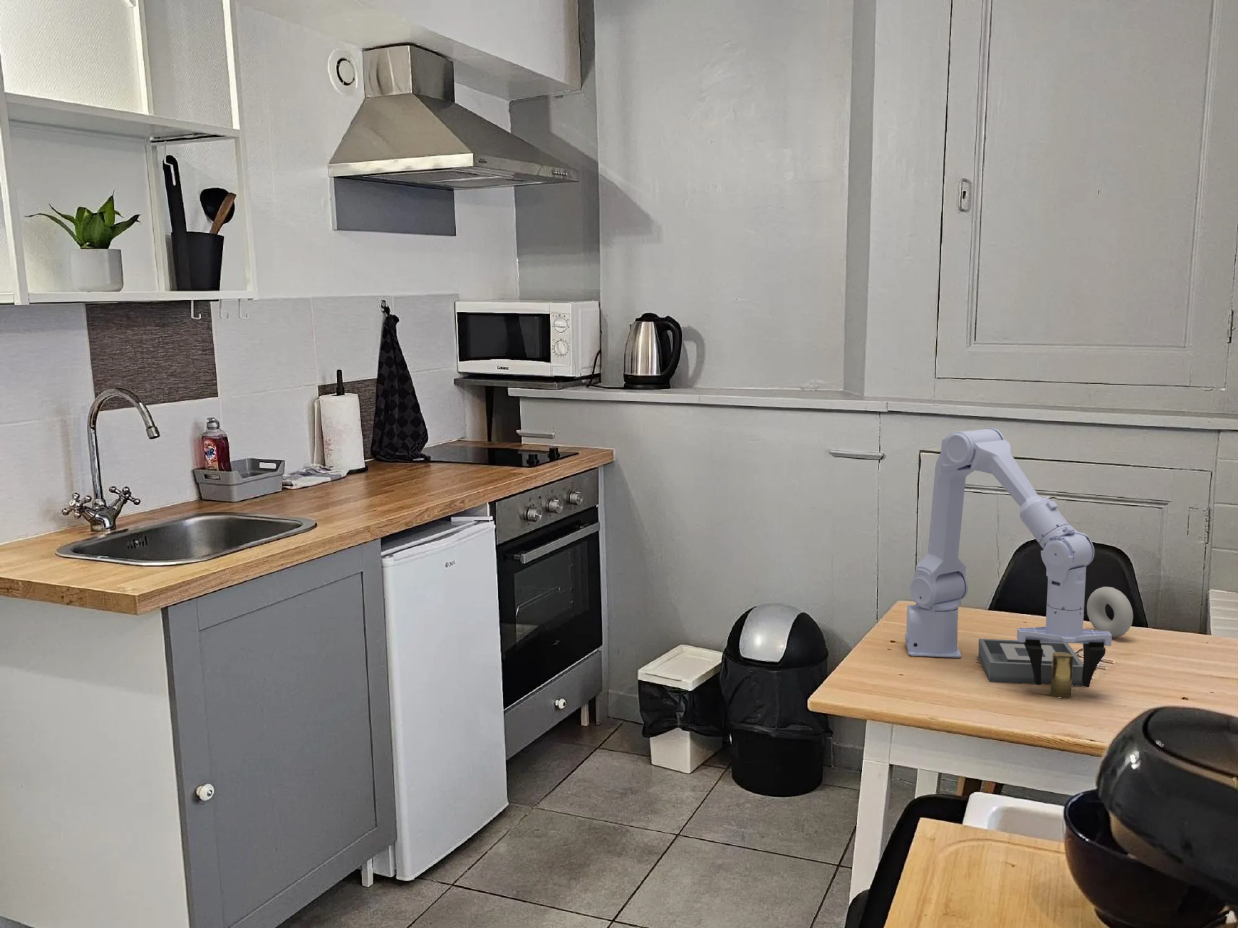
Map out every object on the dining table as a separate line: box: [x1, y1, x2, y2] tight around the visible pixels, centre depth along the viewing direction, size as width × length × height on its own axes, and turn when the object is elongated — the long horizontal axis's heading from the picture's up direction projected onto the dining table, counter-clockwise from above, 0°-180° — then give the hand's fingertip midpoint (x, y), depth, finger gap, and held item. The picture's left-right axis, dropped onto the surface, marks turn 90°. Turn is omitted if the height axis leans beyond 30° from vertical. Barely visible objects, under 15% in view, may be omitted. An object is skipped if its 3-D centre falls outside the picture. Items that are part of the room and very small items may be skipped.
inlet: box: [999, 643, 1055, 664], centre depth 190 cm, size 9×9×2 cm
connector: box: [1050, 652, 1073, 699], centre depth 178 cm, size 3×3×7 cm
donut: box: [1086, 586, 1134, 638], centre depth 208 cm, size 10×4×10 cm, turn 23°
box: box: [977, 638, 1085, 687], centre depth 190 cm, size 16×14×4 cm
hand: (1061, 683), depth 178 cm, fingers open, 7 cm apart
